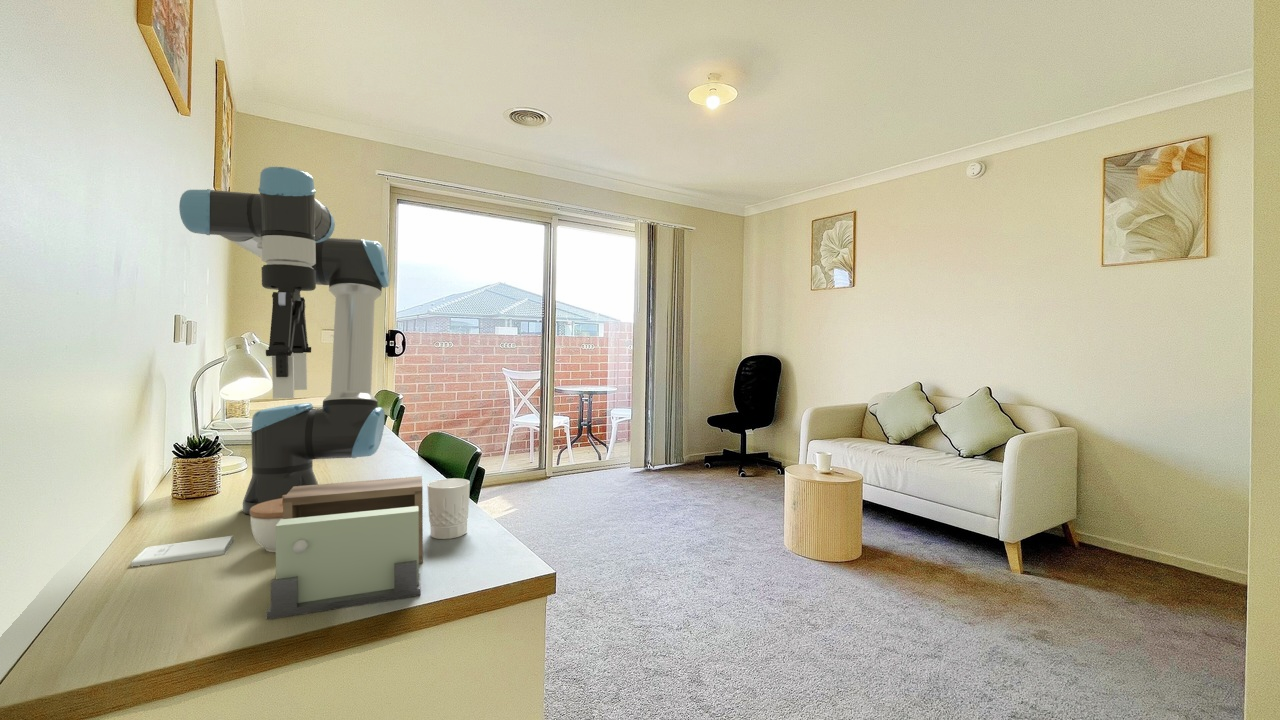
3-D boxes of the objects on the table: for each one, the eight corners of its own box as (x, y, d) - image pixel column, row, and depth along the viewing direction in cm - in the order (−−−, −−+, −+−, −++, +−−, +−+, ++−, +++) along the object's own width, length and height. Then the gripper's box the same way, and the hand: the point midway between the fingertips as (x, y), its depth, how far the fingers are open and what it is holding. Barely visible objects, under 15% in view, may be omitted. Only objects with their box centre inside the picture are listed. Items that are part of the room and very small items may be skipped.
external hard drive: (224, 557, 95) (130, 570, 90) (233, 543, 103) (147, 554, 97) (224, 548, 95) (130, 561, 90) (233, 534, 103) (147, 545, 97)
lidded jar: (286, 559, 93) (285, 505, 93) (234, 554, 95) (233, 501, 95) (333, 538, 104) (333, 489, 103) (285, 534, 106) (285, 486, 106)
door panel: (418, 576, 84) (418, 505, 83) (418, 587, 80) (418, 513, 80) (281, 597, 77) (280, 519, 77) (274, 610, 73) (273, 528, 73)
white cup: (420, 533, 106) (420, 483, 106) (457, 524, 112) (457, 476, 112) (439, 543, 101) (439, 490, 101) (477, 533, 107) (477, 482, 107)
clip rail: (277, 600, 78) (276, 565, 78) (420, 579, 85) (419, 547, 85) (266, 619, 72) (266, 582, 72) (420, 595, 80) (420, 561, 79)
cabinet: (294, 563, 91) (293, 486, 91) (421, 547, 99) (421, 476, 99) (283, 582, 84) (283, 498, 84) (422, 562, 92) (422, 486, 92)
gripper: (277, 271, 99) (279, 387, 100) (242, 254, 77) (245, 403, 78) (324, 274, 102) (325, 386, 103) (303, 257, 80) (306, 401, 81)
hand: (291, 393), depth 91 cm, fingers open, 13 cm apart
